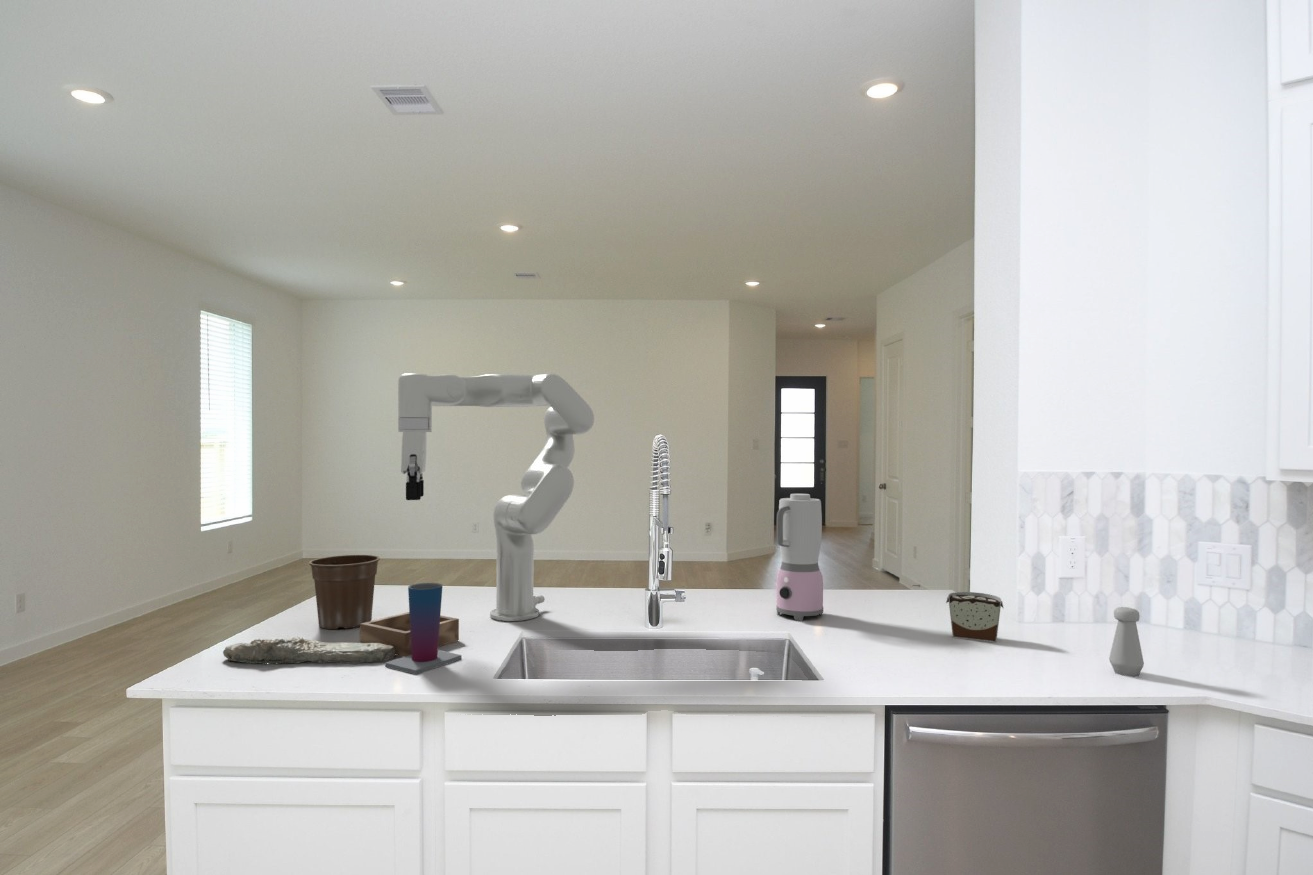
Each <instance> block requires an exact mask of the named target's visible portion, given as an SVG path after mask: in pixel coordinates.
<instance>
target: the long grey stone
mask: <svg viewBox="0 0 1313 875" xmlns="http://www.w3.org/2000/svg"><path fill="white" fill-rule="evenodd" d="M224 648H225V649H224V650H223V651H222V654H223V657H224V658H226V659H227V660H228V661H229V662H231V661H234V662H240V663H245V662H246V663H245V664H257V663H258V664H263V663H266V664H267V663H279V664H300V663H304V662H307V661H308V662H312V663H315V662H318V663H319V664H323V663H324V664H325V663H329V662H330V663H342V664H348V663H349V664H364V663H365V664H366V663H378V661H380V662H388V661H391V660H393V659H394V658H395V656H396V655H395V651H396V650H395V649H394V647H393V646H391V645H385V644H382V643H360V642H343V641H341V642H323V641H319V640H311V639H304V638H303V637H299V636H297V637H295V636H294V637H292V638H275V639H260V638H257V639H254V640H251V642H238V643H233V644H230V645H227V646H226V647H224ZM266 664H265V665H266ZM267 665H268V664H267Z"/></svg>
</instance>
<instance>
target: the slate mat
mask: <svg viewBox="0 0 1313 875" xmlns="http://www.w3.org/2000/svg"><path fill="white" fill-rule="evenodd" d="M456 660H457V661H459V660H462V654H458V653H453V652H450V651H446V650H445V651H444V650H440V649H438V654H437V658H436V659H435V660H432V661H428V662H416V661H413V660H412V655H409V656H406V657H403V656H401V657H400V658H396V659H392V660H388V661H385V663H384V664H385V665H384V666H385V667H386V668H390V669H393V670H398V671H401V672H404V673H408V674H413V675H417V674H421V673H423V672H426V671H430V670H433V669H436V668H439V667H442V666H444V665H448V664H450V662H451V663H453V662H452V661H454V662H457V661H456ZM447 663H448V664H447ZM441 665H442V666H441Z"/></svg>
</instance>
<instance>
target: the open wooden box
mask: <svg viewBox="0 0 1313 875" xmlns="http://www.w3.org/2000/svg"><path fill="white" fill-rule="evenodd" d="M459 630H460V619H459V618H456V617H451V616H445V615H442V614H440V627H439V640H438V648H440V647H442V645H443V646H445V645H446V646H447V645H449V644H451V643H452V642H453V643H456V642H459V641H460V640H459V636H460V635H459V634H460V631H459ZM458 640H459V641H458ZM359 643H382V644H385V645H391V646H393V647H394V649H395V650H396V651H395V654H396V655H395V656H398V657H399V656H400V657H406V656H409V655H412V652H411V633H410V614H409V611H407V612H404V613H400V614H399V613H398V614H395V615H391V616H387V617H383V618H379V619H374V620H371V621H369V622H365V623H361V624H360V627H359ZM453 643H452V644H453Z"/></svg>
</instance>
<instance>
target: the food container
mask: <svg viewBox="0 0 1313 875" xmlns="http://www.w3.org/2000/svg"><path fill="white" fill-rule="evenodd" d="M945 604H948V606H949V607H948V608H949V614H950V615H949V616H950V625H951V634H952V638H953V637H954V639H962V638H963V640H972V641H979V642H980V641H981V642H990V643H997V640H998V633H999V632H998V631H999V622H1000V617H1001V616H1000V615H1001V608H1002V609H1005V608H1004V604H1003V600H1002V598H1001V597H1000V596H997V595H993V594H991V593H989V594H988V593H984V592H983V593H982V592H975V591H974V592H973V591H972V592H971V591H954V592H951V593H948V596H947V597H946V602H945Z"/></svg>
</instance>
